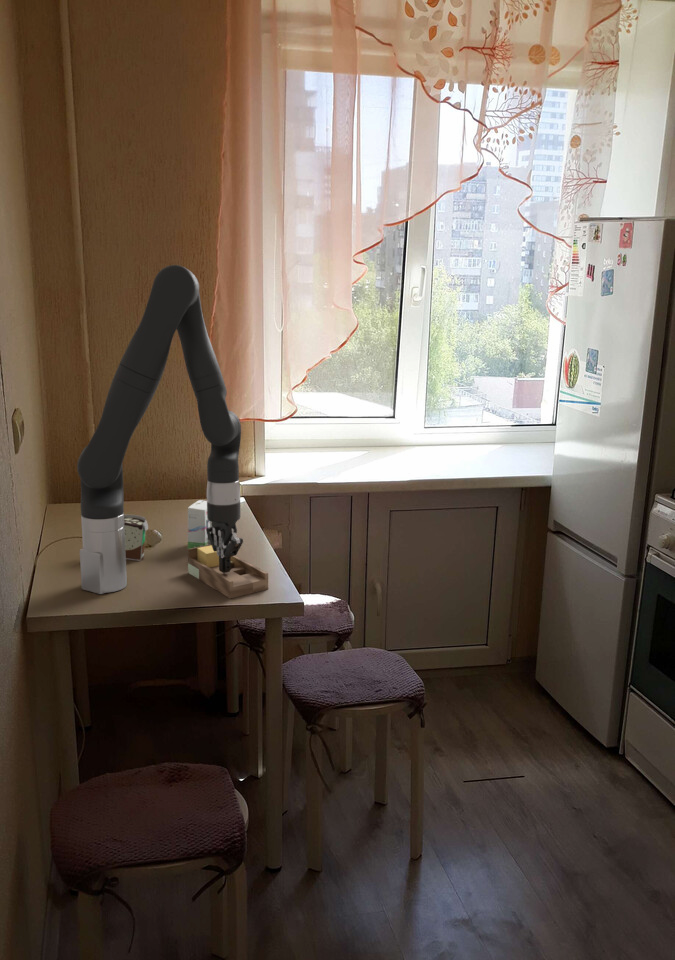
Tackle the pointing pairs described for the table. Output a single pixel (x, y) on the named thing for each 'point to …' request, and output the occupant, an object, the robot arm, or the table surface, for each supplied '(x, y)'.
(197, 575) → the pad
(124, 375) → the robot arm
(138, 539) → the food container
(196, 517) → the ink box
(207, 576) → the board
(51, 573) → the table surface
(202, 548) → the ochre block
